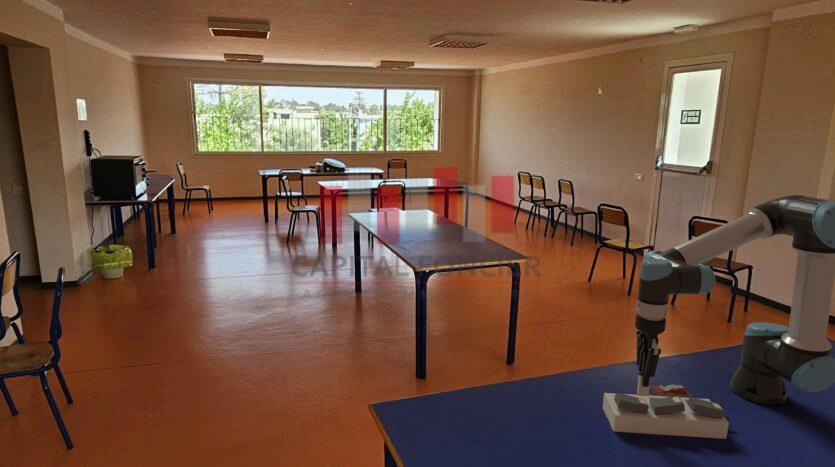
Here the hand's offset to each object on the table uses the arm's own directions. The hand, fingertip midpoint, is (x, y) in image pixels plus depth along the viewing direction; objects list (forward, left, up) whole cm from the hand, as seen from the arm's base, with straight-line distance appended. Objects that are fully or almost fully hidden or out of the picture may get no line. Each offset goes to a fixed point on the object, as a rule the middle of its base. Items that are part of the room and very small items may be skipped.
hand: (642, 394), depth 144 cm
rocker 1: (+3, 0, -4) cm, 5 cm away
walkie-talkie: (-17, -16, -10) cm, 26 cm away
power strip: (-9, -2, -10) cm, 13 cm away
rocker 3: (-17, 0, -4) cm, 17 cm away
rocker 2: (-7, 0, -4) cm, 8 cm away
